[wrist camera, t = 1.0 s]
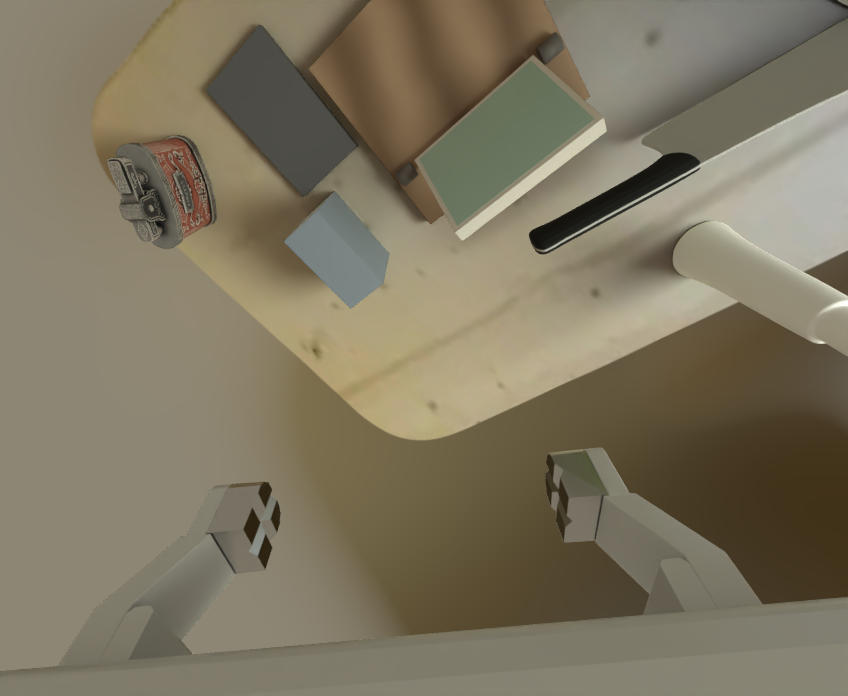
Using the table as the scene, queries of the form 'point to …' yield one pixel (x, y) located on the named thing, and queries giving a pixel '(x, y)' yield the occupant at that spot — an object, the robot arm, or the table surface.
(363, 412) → the table surface
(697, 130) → the kitchen cleaver
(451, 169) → the tile
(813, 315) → the cosmetic bottle
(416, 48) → the hinge board
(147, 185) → the lighter
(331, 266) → the grey rectangular prism
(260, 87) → the pad
